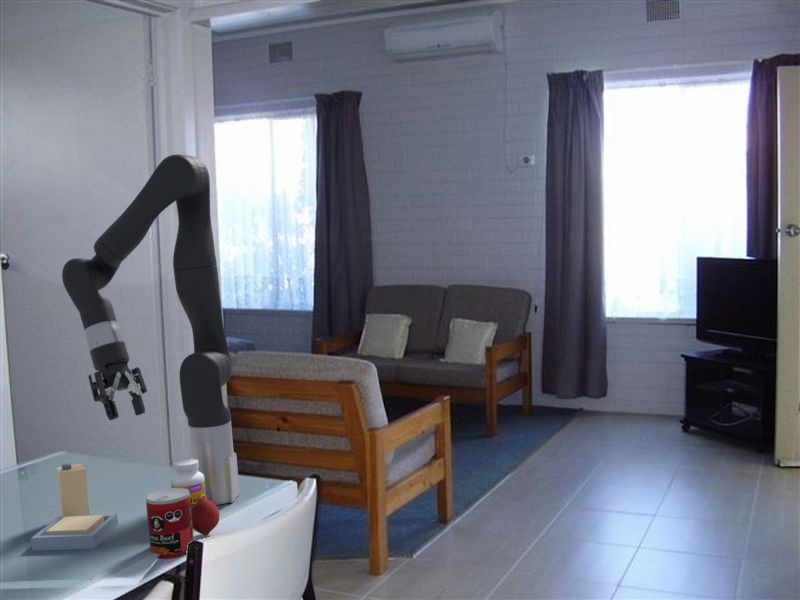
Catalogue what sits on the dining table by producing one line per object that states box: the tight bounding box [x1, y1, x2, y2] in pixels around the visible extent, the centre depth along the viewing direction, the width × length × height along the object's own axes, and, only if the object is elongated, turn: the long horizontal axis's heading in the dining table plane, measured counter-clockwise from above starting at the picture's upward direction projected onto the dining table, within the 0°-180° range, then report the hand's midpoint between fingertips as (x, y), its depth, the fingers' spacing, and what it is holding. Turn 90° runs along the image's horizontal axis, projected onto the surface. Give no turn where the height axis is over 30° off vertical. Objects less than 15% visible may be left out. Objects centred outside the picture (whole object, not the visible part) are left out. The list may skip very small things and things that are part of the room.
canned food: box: [145, 487, 194, 560], centre depth 166 cm, size 8×8×11 cm
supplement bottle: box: [170, 458, 206, 508], centre depth 181 cm, size 7×7×13 cm
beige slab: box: [46, 514, 104, 536], centre depth 174 cm, size 8×8×3 cm
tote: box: [30, 513, 119, 552], centre depth 174 cm, size 12×12×4 cm
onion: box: [191, 495, 220, 536], centre depth 174 cm, size 6×6×8 cm
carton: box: [56, 462, 90, 516], centre depth 185 cm, size 5×5×13 cm
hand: (127, 416), depth 192 cm, fingers open, 8 cm apart
